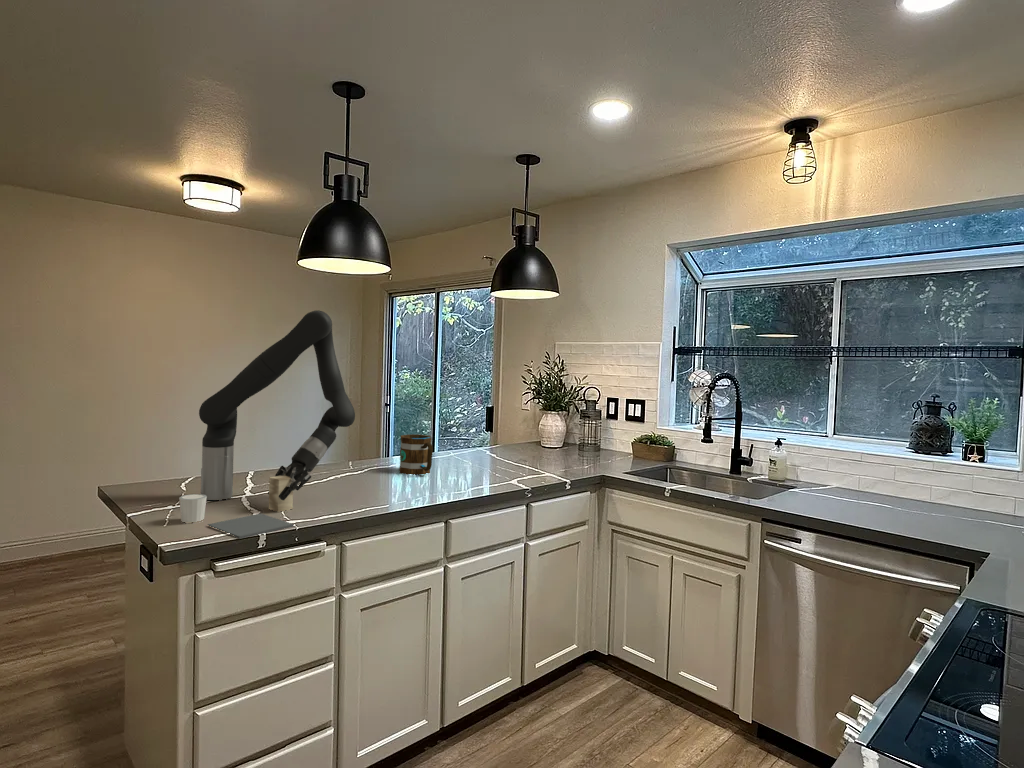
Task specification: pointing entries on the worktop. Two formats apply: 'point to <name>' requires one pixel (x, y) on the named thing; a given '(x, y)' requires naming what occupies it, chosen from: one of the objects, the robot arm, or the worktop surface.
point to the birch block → (275, 489)
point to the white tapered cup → (192, 507)
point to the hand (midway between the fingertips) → (275, 496)
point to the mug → (415, 454)
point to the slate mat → (251, 525)
